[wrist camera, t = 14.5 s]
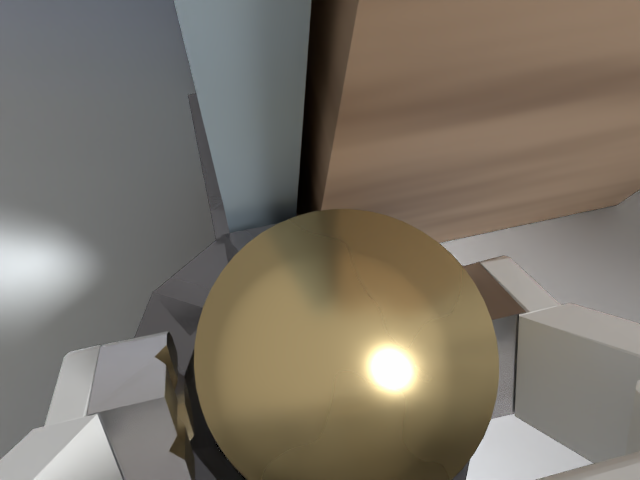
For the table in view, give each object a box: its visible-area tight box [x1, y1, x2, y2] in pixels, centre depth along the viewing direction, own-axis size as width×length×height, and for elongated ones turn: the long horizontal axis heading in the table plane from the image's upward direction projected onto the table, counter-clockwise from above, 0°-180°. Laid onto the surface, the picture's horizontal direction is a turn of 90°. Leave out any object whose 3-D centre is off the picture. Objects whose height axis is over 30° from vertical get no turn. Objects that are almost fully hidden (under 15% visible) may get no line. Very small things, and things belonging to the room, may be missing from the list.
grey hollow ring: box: [135, 94, 470, 480], centre depth 14 cm, size 10×7×4 cm, turn 13°
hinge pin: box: [194, 209, 499, 480], centre depth 11 cm, size 3×3×10 cm
